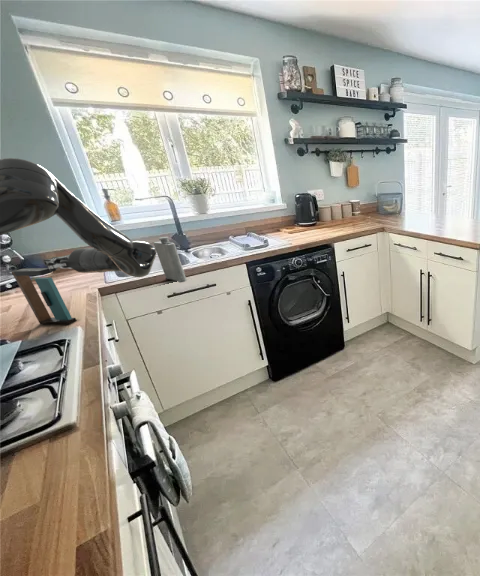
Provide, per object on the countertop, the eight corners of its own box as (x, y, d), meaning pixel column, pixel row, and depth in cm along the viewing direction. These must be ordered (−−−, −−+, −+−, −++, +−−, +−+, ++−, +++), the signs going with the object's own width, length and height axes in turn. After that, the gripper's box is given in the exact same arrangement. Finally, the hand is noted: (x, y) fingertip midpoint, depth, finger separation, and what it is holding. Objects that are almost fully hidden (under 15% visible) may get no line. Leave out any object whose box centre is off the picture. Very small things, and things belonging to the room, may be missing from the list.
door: (65, 321, 104) (43, 279, 99) (52, 321, 105) (30, 280, 100) (75, 316, 107) (55, 276, 102) (62, 316, 108) (42, 276, 103)
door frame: (67, 325, 105) (39, 270, 98) (40, 324, 107) (10, 271, 100) (76, 320, 108) (50, 267, 101) (50, 320, 110) (22, 268, 103)
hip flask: (164, 278, 148) (150, 237, 141) (173, 275, 151) (160, 235, 144) (180, 282, 139) (166, 239, 132) (190, 279, 142) (176, 237, 135)
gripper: (111, 243, 99) (68, 244, 103) (63, 254, 87) (16, 256, 90) (120, 265, 102) (78, 266, 105) (75, 279, 90) (29, 280, 93)
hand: (50, 261), depth 98 cm, fingers closed
